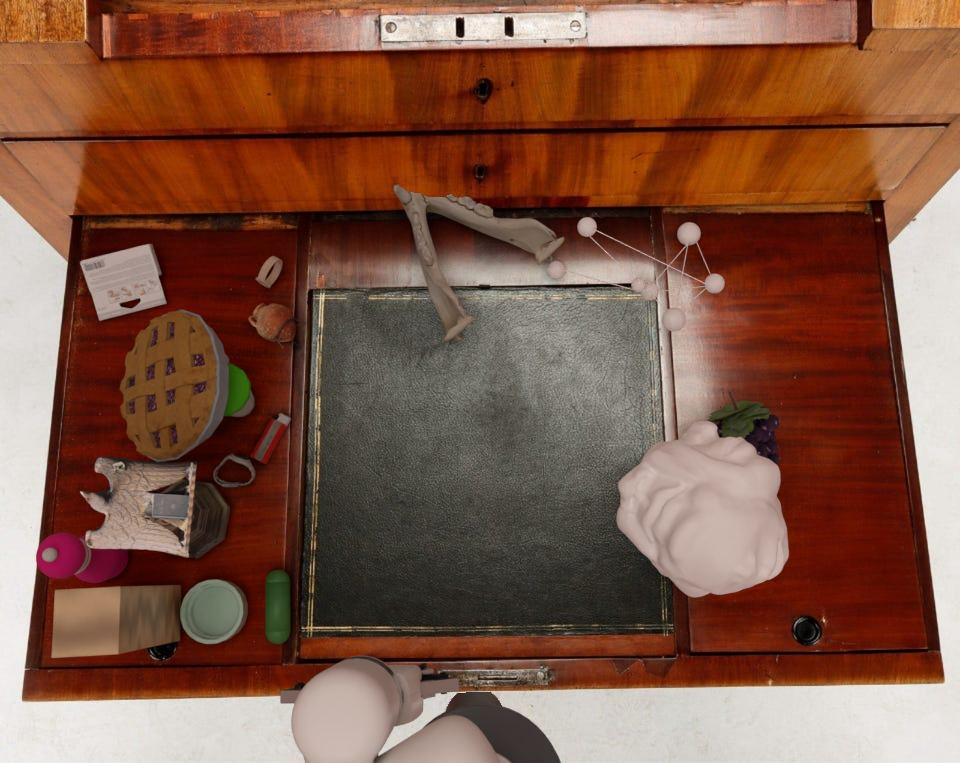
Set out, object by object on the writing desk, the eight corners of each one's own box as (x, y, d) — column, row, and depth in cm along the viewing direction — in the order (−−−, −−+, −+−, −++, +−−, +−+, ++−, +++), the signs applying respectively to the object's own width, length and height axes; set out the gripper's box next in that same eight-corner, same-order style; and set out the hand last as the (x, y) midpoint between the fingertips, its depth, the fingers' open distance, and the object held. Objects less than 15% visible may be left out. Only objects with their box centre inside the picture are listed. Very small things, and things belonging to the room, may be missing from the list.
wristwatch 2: (254, 484, 133) (248, 451, 133) (213, 491, 133) (207, 458, 133) (259, 480, 137) (253, 448, 136) (220, 487, 137) (214, 455, 136)
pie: (228, 292, 127) (199, 285, 123) (245, 439, 121) (216, 437, 117) (136, 342, 138) (107, 337, 134) (148, 479, 132) (118, 478, 128)
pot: (316, 326, 140) (289, 356, 141) (280, 292, 141) (255, 322, 142) (302, 324, 134) (275, 355, 135) (265, 289, 135) (238, 320, 136)
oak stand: (180, 640, 131) (118, 654, 107) (125, 643, 130) (51, 658, 107) (181, 584, 132) (120, 586, 109) (127, 587, 132) (54, 589, 109)
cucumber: (295, 643, 129) (275, 645, 126) (280, 642, 131) (260, 645, 129) (295, 568, 131) (275, 569, 129) (279, 569, 134) (260, 570, 131)
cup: (260, 373, 139) (237, 349, 125) (269, 421, 138) (246, 403, 123) (211, 384, 139) (181, 361, 124) (219, 432, 137) (189, 415, 122)
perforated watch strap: (259, 284, 143) (251, 274, 138) (275, 260, 144) (268, 249, 139) (273, 292, 142) (266, 282, 137) (289, 268, 143) (283, 257, 138)
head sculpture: (685, 650, 113) (562, 529, 129) (777, 625, 128) (656, 520, 144) (774, 498, 104) (630, 390, 121) (861, 491, 120) (723, 396, 136)
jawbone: (458, 144, 146) (461, 107, 131) (563, 251, 145) (578, 226, 130) (347, 246, 144) (336, 221, 129) (453, 356, 143) (455, 344, 128)
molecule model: (677, 246, 151) (705, 341, 145) (539, 253, 145) (562, 353, 139) (715, 199, 139) (748, 302, 133) (565, 205, 132) (592, 313, 126)
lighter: (267, 465, 136) (292, 419, 138) (265, 463, 135) (290, 417, 137) (251, 457, 137) (277, 411, 138) (249, 455, 135) (274, 409, 137)
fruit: (808, 470, 131) (776, 378, 129) (748, 500, 130) (714, 407, 127) (771, 459, 141) (740, 373, 139) (714, 487, 140) (682, 400, 137)
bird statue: (268, 476, 136) (203, 442, 102) (256, 563, 133) (184, 558, 99) (161, 466, 136) (59, 428, 102) (146, 553, 133) (36, 544, 99)
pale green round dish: (248, 640, 131) (242, 642, 127) (187, 643, 130) (179, 645, 127) (248, 577, 133) (243, 577, 129) (188, 581, 132) (180, 581, 129)
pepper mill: (139, 542, 133) (84, 536, 114) (120, 589, 132) (61, 591, 112) (94, 527, 134) (32, 518, 114) (75, 573, 132) (8, 573, 113)
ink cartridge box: (153, 243, 142) (171, 303, 143) (83, 260, 141) (102, 320, 143) (149, 243, 139) (167, 303, 141) (78, 260, 139) (97, 321, 140)
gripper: (259, 755, 76) (296, 725, 93) (460, 740, 77) (462, 713, 93) (258, 663, 78) (295, 650, 94) (455, 649, 78) (457, 639, 95)
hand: (378, 682), depth 94 cm, fingers open, 9 cm apart
